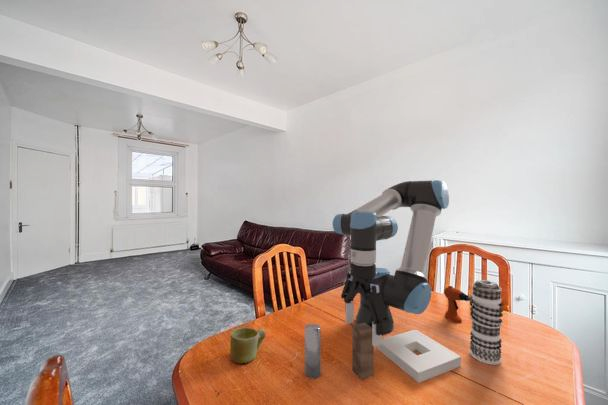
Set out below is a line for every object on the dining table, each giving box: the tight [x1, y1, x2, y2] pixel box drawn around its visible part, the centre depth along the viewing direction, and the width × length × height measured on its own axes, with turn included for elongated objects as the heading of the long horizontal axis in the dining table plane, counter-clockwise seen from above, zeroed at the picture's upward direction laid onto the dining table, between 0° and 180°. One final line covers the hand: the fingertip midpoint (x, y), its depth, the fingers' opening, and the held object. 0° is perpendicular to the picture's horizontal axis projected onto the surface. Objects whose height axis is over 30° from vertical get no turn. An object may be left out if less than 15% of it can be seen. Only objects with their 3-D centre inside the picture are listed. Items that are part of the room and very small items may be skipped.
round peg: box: [304, 323, 322, 379], centre depth 78 cm, size 5×5×14 cm
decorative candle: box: [469, 279, 505, 366], centre depth 85 cm, size 9×9×25 cm
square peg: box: [351, 323, 375, 381], centre depth 78 cm, size 4×4×14 cm
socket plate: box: [376, 329, 462, 383], centre depth 86 cm, size 18×18×3 cm
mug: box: [229, 327, 266, 364], centre depth 87 cm, size 12×10×10 cm
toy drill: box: [443, 285, 473, 324], centre depth 107 cm, size 5×18×14 cm, turn 8°
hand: (362, 333), depth 78 cm, fingers open, 13 cm apart
